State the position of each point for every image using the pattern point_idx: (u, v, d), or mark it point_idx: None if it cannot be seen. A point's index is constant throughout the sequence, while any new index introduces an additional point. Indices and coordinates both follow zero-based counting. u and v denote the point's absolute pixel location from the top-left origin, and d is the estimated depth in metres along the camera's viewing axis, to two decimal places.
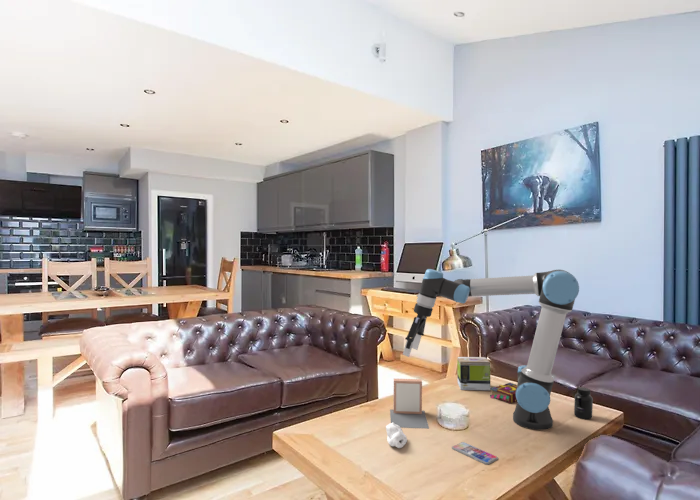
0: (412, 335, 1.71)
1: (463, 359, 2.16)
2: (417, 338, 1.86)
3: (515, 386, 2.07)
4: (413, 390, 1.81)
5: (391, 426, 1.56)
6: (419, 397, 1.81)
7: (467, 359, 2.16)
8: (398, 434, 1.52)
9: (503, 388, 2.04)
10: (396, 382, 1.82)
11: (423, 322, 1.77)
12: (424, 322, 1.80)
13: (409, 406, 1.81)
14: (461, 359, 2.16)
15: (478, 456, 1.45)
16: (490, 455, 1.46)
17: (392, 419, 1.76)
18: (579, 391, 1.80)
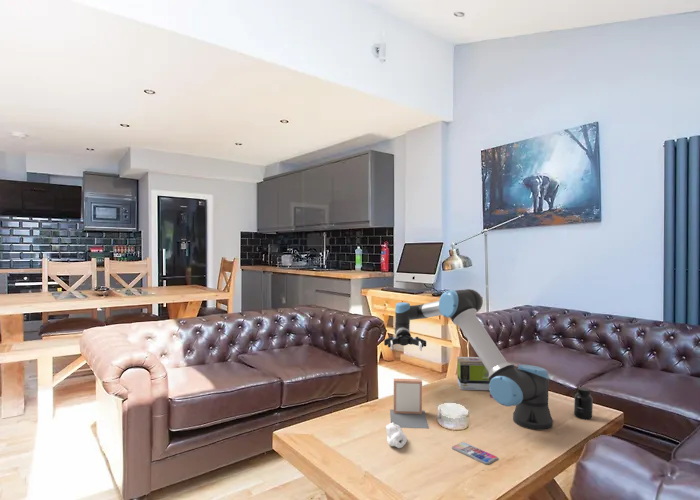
0: None
1: (463, 359, 2.16)
2: None
3: None
4: (413, 390, 1.81)
5: (391, 426, 1.56)
6: (419, 397, 1.81)
7: (467, 359, 2.16)
8: (398, 434, 1.52)
9: None
10: (396, 382, 1.82)
11: (401, 335, 2.07)
12: (406, 336, 2.07)
13: (409, 406, 1.81)
14: (461, 359, 2.16)
15: (478, 456, 1.45)
16: (490, 455, 1.46)
17: (392, 419, 1.76)
18: (579, 391, 1.80)
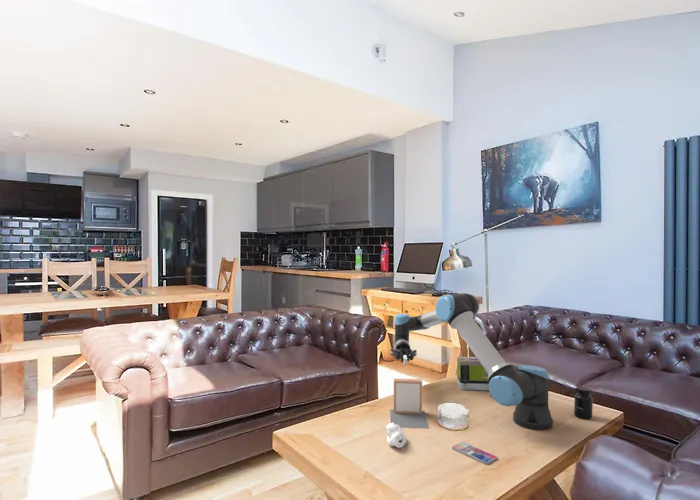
0: (395, 354, 2.01)
1: (463, 359, 2.16)
2: None
3: None
4: (413, 390, 1.81)
5: (391, 426, 1.56)
6: (419, 397, 1.81)
7: (467, 359, 2.16)
8: (398, 434, 1.52)
9: None
10: (396, 382, 1.82)
11: (401, 348, 2.09)
12: (405, 348, 2.08)
13: (409, 406, 1.81)
14: (461, 359, 2.16)
15: (478, 456, 1.45)
16: (490, 455, 1.46)
17: (392, 419, 1.76)
18: (579, 391, 1.80)
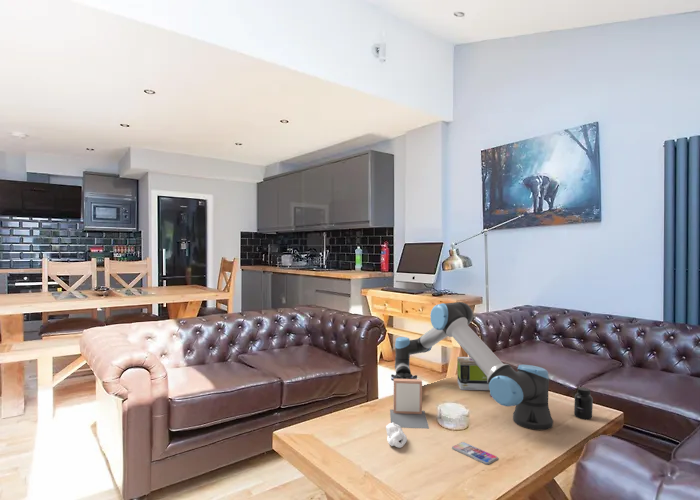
0: None
1: (463, 359, 2.16)
2: None
3: None
4: (413, 390, 1.81)
5: (391, 426, 1.56)
6: (419, 397, 1.81)
7: (467, 359, 2.16)
8: (398, 434, 1.53)
9: None
10: (396, 382, 1.82)
11: (401, 373, 2.08)
12: (405, 373, 2.07)
13: (409, 406, 1.81)
14: (461, 359, 2.16)
15: (478, 456, 1.45)
16: (490, 455, 1.46)
17: (392, 419, 1.76)
18: (579, 391, 1.80)
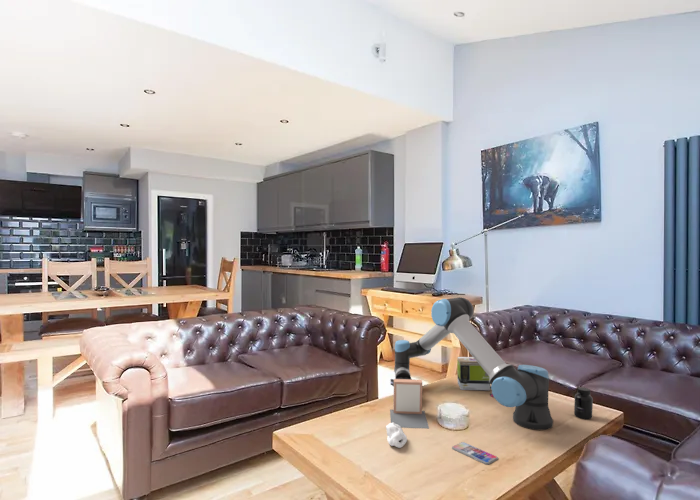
0: None
1: (463, 359, 2.16)
2: None
3: None
4: (413, 391, 1.80)
5: (391, 426, 1.56)
6: (419, 398, 1.80)
7: (467, 359, 2.16)
8: (398, 434, 1.53)
9: None
10: (396, 383, 1.81)
11: (401, 377, 2.01)
12: (405, 378, 2.01)
13: (409, 406, 1.81)
14: (461, 359, 2.16)
15: (478, 456, 1.45)
16: (490, 455, 1.46)
17: (392, 419, 1.76)
18: (579, 391, 1.80)
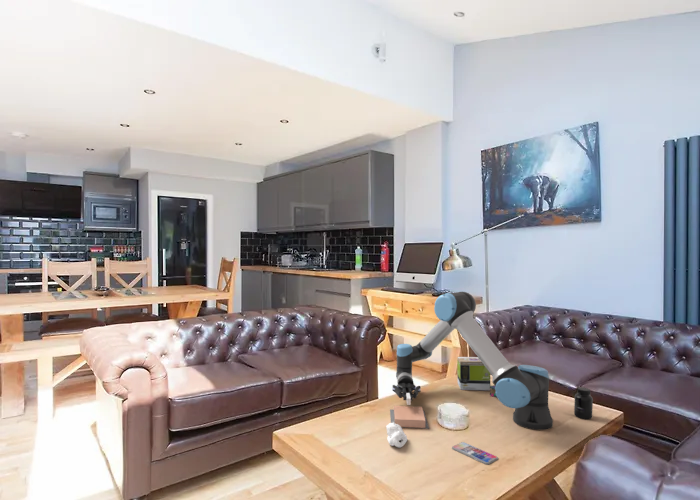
0: (398, 391, 1.85)
1: (463, 359, 2.16)
2: None
3: None
4: None
5: (391, 425, 1.57)
6: None
7: (467, 359, 2.16)
8: (398, 433, 1.53)
9: None
10: None
11: (404, 383, 1.92)
12: (407, 384, 1.92)
13: None
14: (461, 359, 2.16)
15: (478, 456, 1.45)
16: (490, 455, 1.46)
17: (392, 419, 1.76)
18: (579, 391, 1.80)
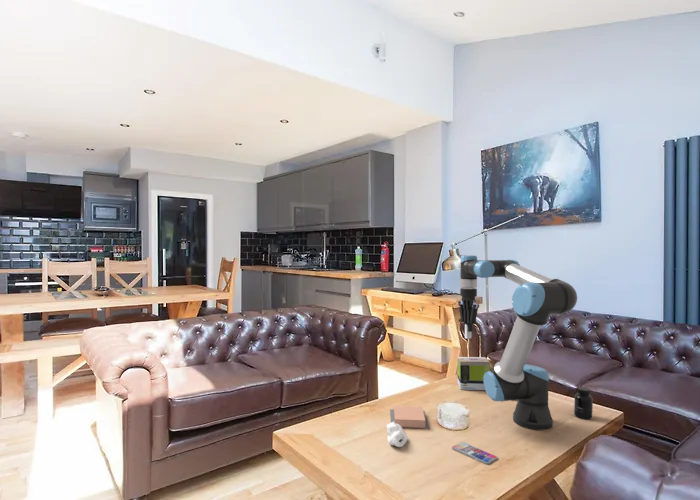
0: None
1: (463, 359, 2.16)
2: None
3: None
4: None
5: (391, 425, 1.57)
6: None
7: (467, 359, 2.16)
8: (398, 433, 1.53)
9: None
10: None
11: (463, 302, 1.99)
12: (465, 303, 1.97)
13: None
14: (461, 359, 2.16)
15: (478, 456, 1.45)
16: (490, 455, 1.46)
17: (392, 419, 1.76)
18: (579, 391, 1.80)
